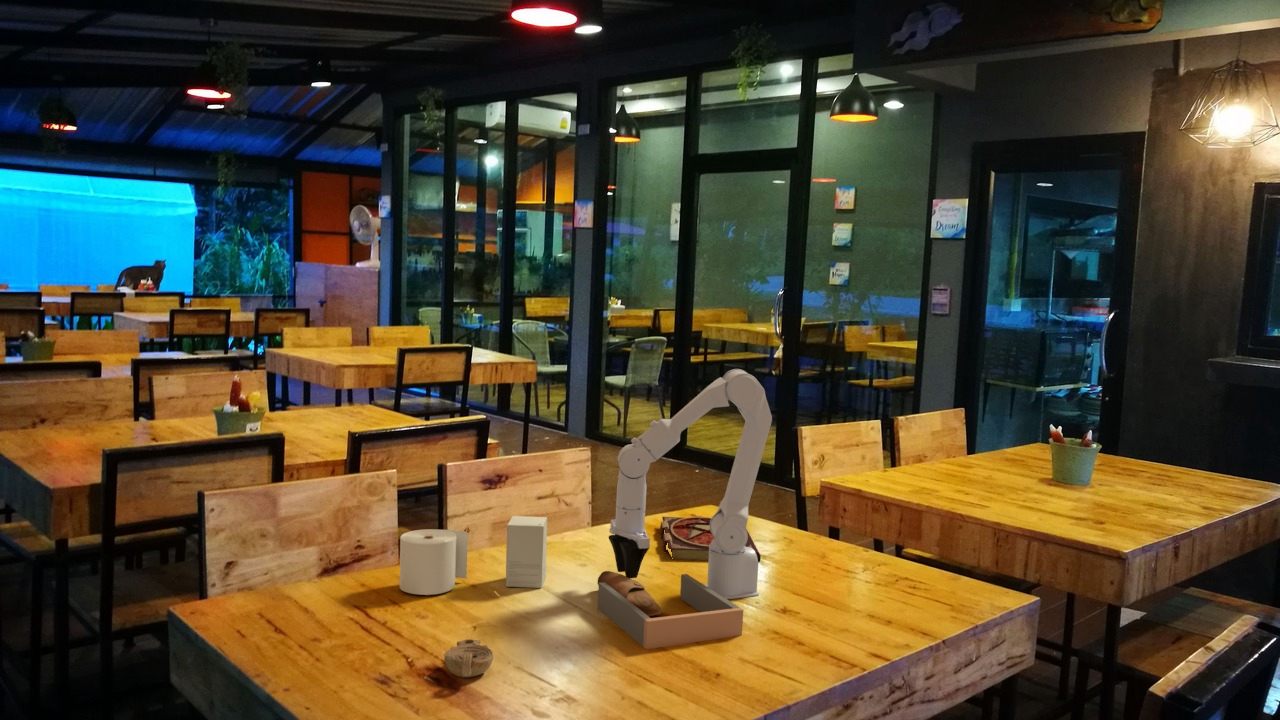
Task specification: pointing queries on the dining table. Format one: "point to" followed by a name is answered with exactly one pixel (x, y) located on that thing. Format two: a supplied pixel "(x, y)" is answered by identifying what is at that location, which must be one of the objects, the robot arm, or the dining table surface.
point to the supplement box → (526, 552)
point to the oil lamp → (468, 658)
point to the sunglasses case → (631, 592)
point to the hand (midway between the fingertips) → (627, 574)
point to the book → (691, 537)
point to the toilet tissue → (432, 560)
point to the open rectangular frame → (672, 630)
